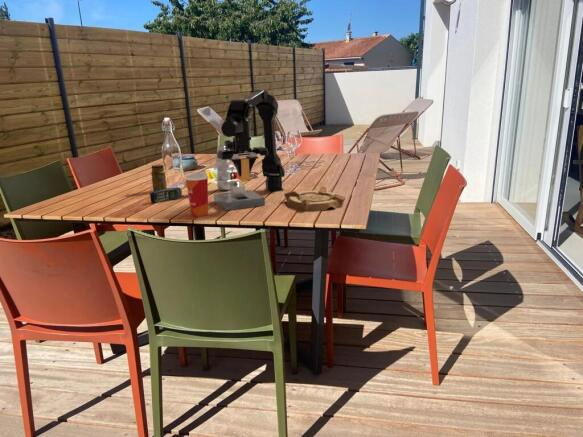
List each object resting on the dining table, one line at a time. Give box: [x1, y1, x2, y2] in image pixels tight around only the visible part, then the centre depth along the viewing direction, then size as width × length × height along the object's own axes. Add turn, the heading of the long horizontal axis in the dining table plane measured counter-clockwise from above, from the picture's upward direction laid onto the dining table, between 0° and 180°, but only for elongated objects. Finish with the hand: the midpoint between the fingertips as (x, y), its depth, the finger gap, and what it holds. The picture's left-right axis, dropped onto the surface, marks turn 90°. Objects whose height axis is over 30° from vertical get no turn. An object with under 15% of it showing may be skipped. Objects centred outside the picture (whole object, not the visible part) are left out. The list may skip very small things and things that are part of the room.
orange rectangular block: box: [238, 157, 251, 182], centre depth 167 cm, size 3×3×8 cm
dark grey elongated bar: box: [149, 187, 185, 204], centre depth 182 cm, size 5×3×15 cm
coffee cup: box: [184, 172, 209, 218], centre depth 158 cm, size 8×8×15 cm
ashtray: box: [283, 186, 346, 212], centre depth 171 cm, size 24×24×5 cm
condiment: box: [150, 164, 168, 193], centre depth 197 cm, size 7×8×12 cm
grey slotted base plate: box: [213, 180, 266, 211], centre depth 174 cm, size 16×16×8 cm
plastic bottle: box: [214, 145, 232, 191], centre depth 196 cm, size 6×7×20 cm
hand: (244, 175), depth 167 cm, fingers closed on orange rectangular block, 3 cm apart
